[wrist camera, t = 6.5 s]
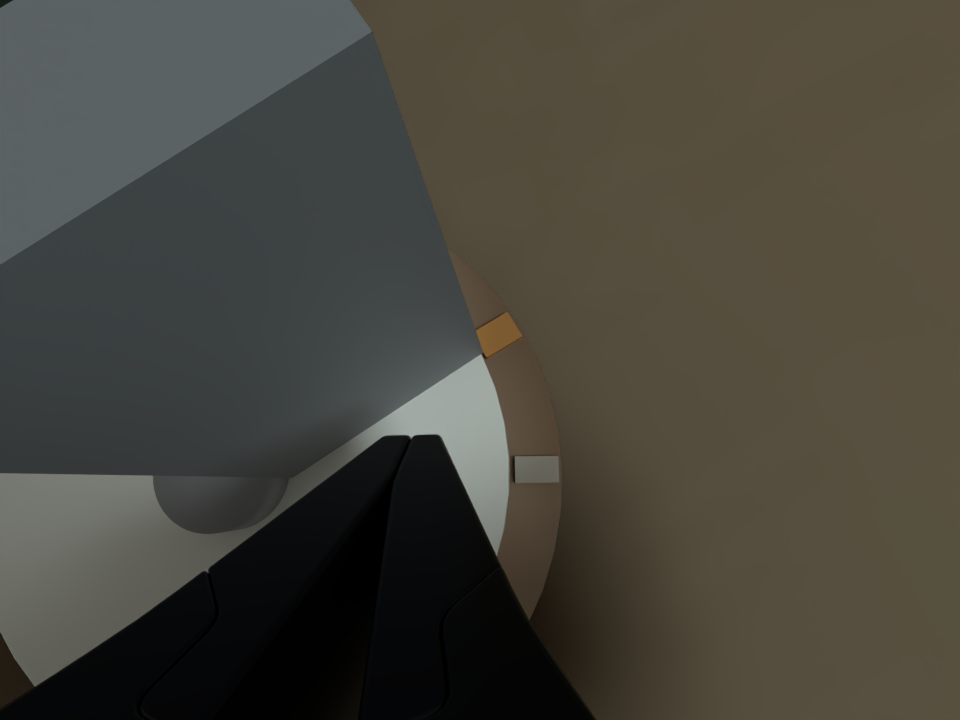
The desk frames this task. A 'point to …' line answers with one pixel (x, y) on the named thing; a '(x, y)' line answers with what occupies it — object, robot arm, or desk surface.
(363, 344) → the dial
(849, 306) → the desk surface
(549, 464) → the dial base
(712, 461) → the desk surface
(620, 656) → the desk surface
